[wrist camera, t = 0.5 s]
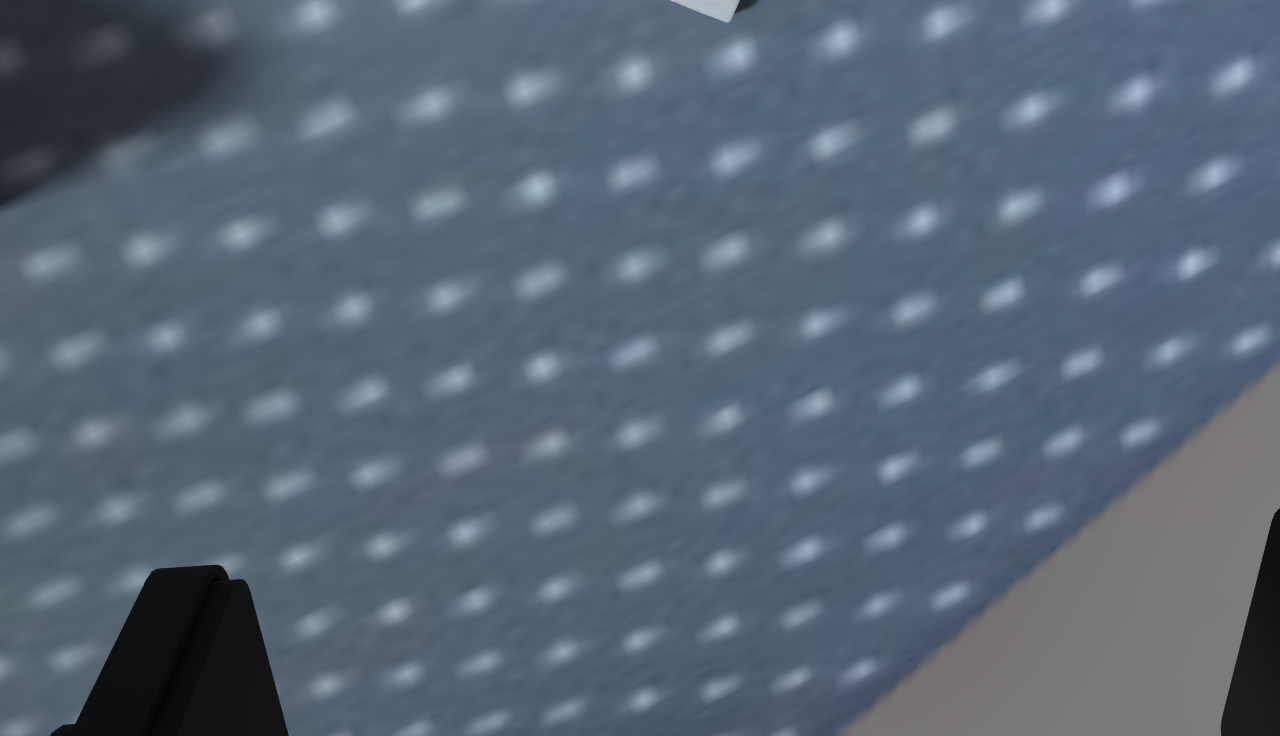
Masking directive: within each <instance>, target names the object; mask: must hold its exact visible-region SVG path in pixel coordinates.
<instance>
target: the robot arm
mask: <svg viewBox="0 0 1280 736" xmlns="http://www.w3.org/2000/svg"><path fill="white" fill-rule="evenodd" d="M50 736H289V735H288V731H287V728H286V724H285V720H284V716H283V712H282V709H281V705H280V701H279V697H278V694H277V690H276V686H275V682H274V679H273V675H272V671H271V667H270V664H269V660H268V656H267V652H266V649H265V645H264V641H263V637H262V633H261V630H260V626H259V622H258V618H257V615H256V611H255V607H254V603H253V600H252V596H251V592H250V589H249V587H248V584H247V583H246V582H245V580H242V579H236V580H229V578H228V575H227V572H226V571H225V570H224V568H223V567H222V566H220V565H204V566H190V567H176V568H161V569H156V570H154V571H152V572H151V574H150V575H149V576H148V578H147V579H146V581H145V583H144V585H143V588H142V590H141V592H140V594H139V596H138V598H137V600H136V602H135V604H134V606H133V608H132V610H131V612H130V614H129V616H128V618H127V620H126V622H125V624H124V626H123V628H122V630H121V632H120V634H119V636H118V638H117V640H116V642H115V644H114V646H113V648H112V650H111V652H110V654H109V656H108V658H107V660H106V662H105V664H104V667H103V669H102V671H101V673H100V675H99V677H98V679H97V681H96V683H95V685H94V687H93V689H92V691H91V693H90V695H89V697H88V699H87V701H86V703H85V705H84V707H83V709H82V711H81V713H80V715H79V717H78V719H77V721H76V723H75V724H69V725H62V726H61V727H59V728H58V729H57V730H55V731H54V732H52V734H51V735H50ZM1221 736H1280V508H1279V509H1278V510H1277V512H1276V513H1275V514H1274V517H1273V519H1272V522H1271V526H1270V530H1269V534H1268V538H1267V542H1266V546H1265V550H1264V554H1263V558H1262V562H1261V566H1260V570H1259V574H1258V578H1257V582H1256V586H1255V589H1254V594H1253V598H1252V601H1251V605H1250V609H1249V613H1248V617H1247V621H1246V625H1245V629H1244V633H1243V637H1242V641H1241V645H1240V649H1239V653H1238V657H1237V661H1236V665H1235V669H1234V672H1233V676H1232V681H1231V684H1230V689H1229V692H1228V696H1227V700H1226V704H1225V708H1224V712H1223V716H1222V722H1221Z"/></svg>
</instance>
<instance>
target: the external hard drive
mask: <svg viewBox="0 0 1280 736" xmlns="http://www.w3.org/2000/svg"><path fill="white" fill-rule="evenodd" d="M671 1H673V2H676V3H678V4H681V5H683V6H686V7H688V8H691V9H693V10H696V11H698V12H701V13H703V14H706V15H708V16H711V17H714V18H717V19H719V20H721V21H724V22H730V21H731V19H732V17H733V15H734V13H735V11H736V8H737V6H738V4H739V1H740V0H671Z"/></svg>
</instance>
